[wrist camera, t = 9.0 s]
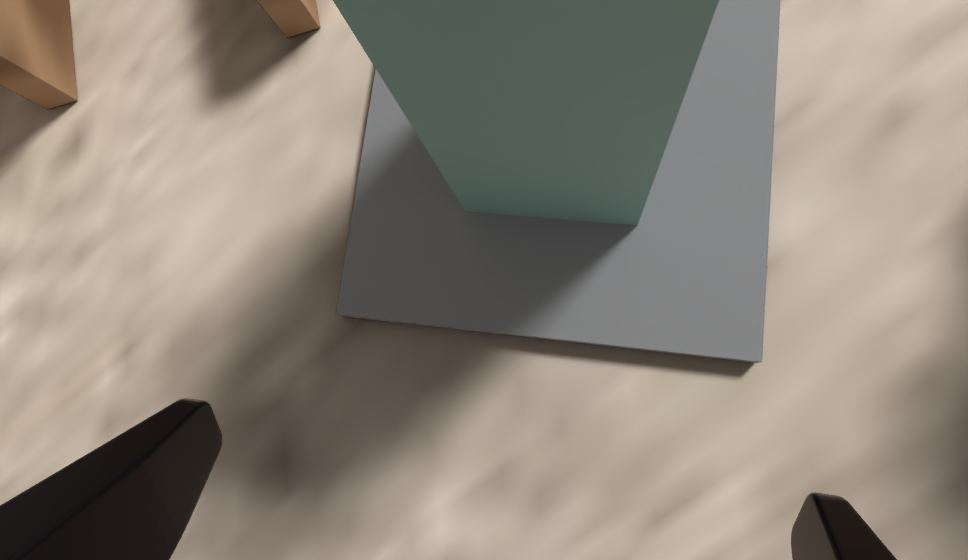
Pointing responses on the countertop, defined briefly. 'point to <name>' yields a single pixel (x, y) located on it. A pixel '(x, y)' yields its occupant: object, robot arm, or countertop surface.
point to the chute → (49, 47)
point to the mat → (589, 227)
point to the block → (539, 95)
